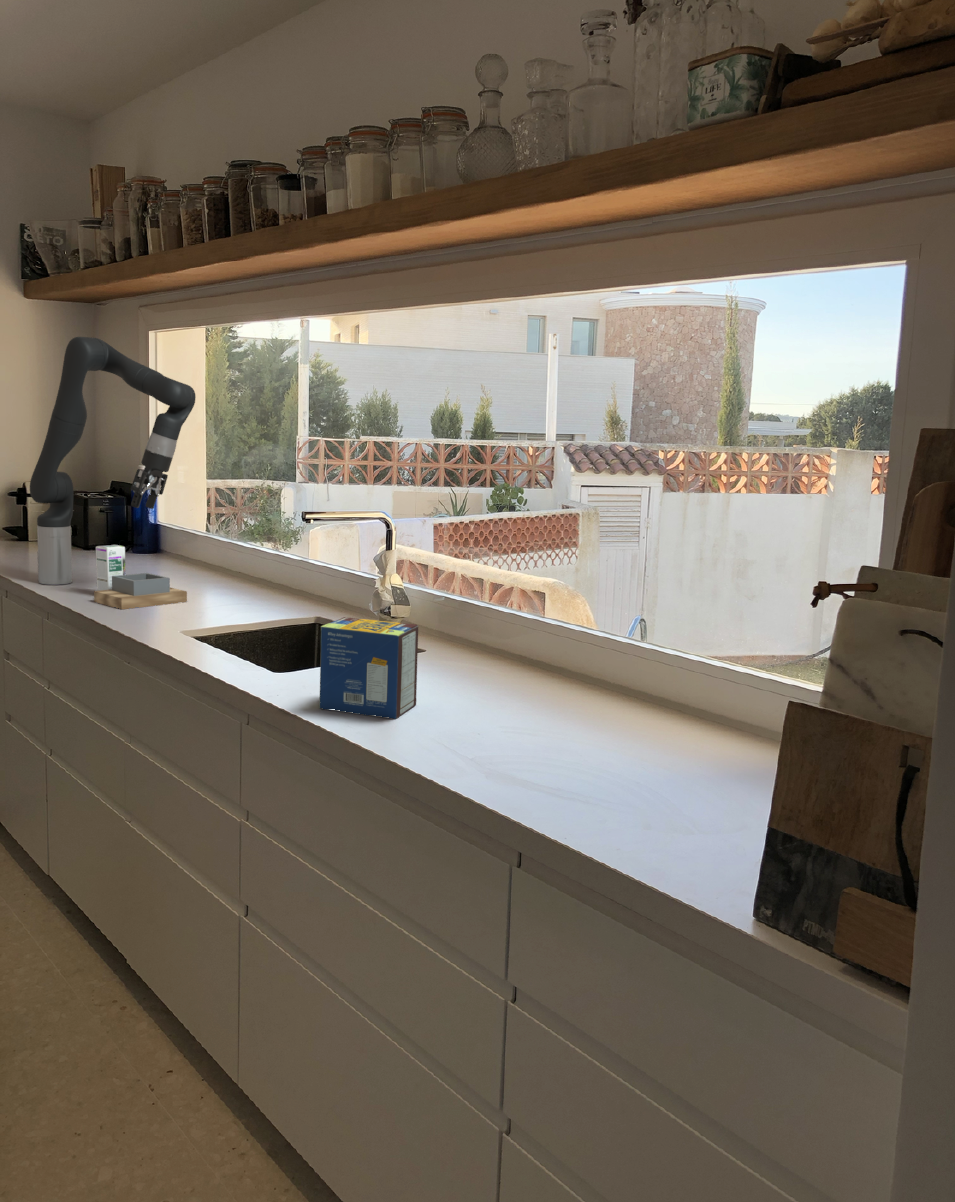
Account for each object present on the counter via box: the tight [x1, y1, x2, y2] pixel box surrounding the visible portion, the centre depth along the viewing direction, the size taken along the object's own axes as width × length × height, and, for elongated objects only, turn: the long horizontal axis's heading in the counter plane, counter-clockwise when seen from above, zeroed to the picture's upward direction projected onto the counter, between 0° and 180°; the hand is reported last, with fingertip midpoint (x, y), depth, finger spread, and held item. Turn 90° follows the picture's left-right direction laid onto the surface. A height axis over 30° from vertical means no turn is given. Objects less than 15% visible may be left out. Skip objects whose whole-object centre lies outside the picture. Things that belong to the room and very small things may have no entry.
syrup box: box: [95, 544, 127, 591], centre depth 283 cm, size 6×6×14 cm
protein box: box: [318, 616, 419, 720], centre depth 184 cm, size 10×15×16 cm
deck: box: [93, 587, 188, 610], centre depth 278 cm, size 14×20×3 cm
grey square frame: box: [112, 572, 171, 596], centre depth 277 cm, size 11×11×4 cm
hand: (141, 507), depth 278 cm, fingers open, 8 cm apart
